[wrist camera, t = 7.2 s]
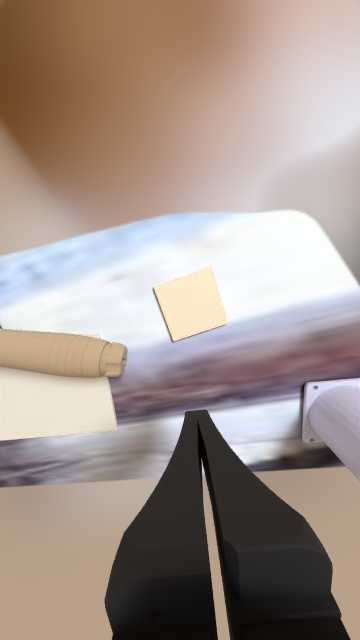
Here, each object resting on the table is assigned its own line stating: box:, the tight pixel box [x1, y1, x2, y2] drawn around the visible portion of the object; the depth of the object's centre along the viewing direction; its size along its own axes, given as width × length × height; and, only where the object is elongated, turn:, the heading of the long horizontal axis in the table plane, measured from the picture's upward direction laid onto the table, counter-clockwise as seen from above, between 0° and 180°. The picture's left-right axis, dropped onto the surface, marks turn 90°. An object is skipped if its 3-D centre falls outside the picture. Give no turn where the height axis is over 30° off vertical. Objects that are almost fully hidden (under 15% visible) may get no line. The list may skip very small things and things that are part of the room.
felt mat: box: [0, 333, 118, 440], centre depth 21 cm, size 20×12×1 cm, turn 96°
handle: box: [0, 329, 127, 378], centre depth 17 cm, size 5×6×15 cm
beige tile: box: [154, 267, 228, 341], centre depth 19 cm, size 6×6×1 cm
